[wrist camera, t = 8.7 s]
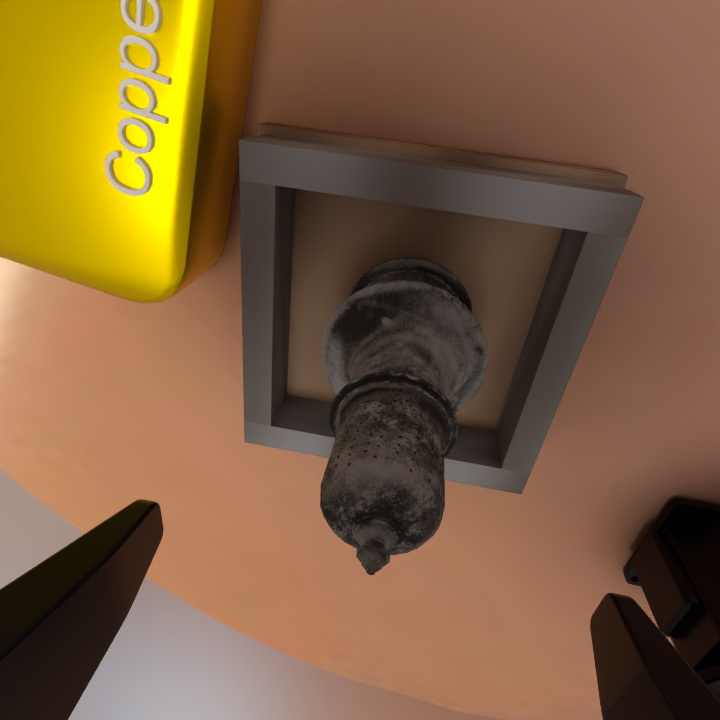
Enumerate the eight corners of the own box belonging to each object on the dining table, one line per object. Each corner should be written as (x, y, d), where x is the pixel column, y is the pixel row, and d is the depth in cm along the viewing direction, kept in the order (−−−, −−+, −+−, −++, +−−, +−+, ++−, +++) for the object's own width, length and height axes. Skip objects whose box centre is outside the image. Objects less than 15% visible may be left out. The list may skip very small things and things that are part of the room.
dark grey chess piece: (456, 391, 21) (471, 685, 10) (329, 360, 21) (220, 617, 10) (501, 269, 18) (587, 510, 7) (352, 234, 18) (231, 420, 7)
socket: (616, 171, 16) (659, 188, 13) (513, 445, 23) (526, 500, 20) (267, 122, 17) (229, 127, 14) (264, 399, 24) (238, 445, 21)
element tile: (222, 283, 21) (171, 326, 17) (-88, 176, 21) (-216, 194, 17) (291, -159, 14) (230, -268, 10) (-194, -342, 13) (-473, -538, 9)
